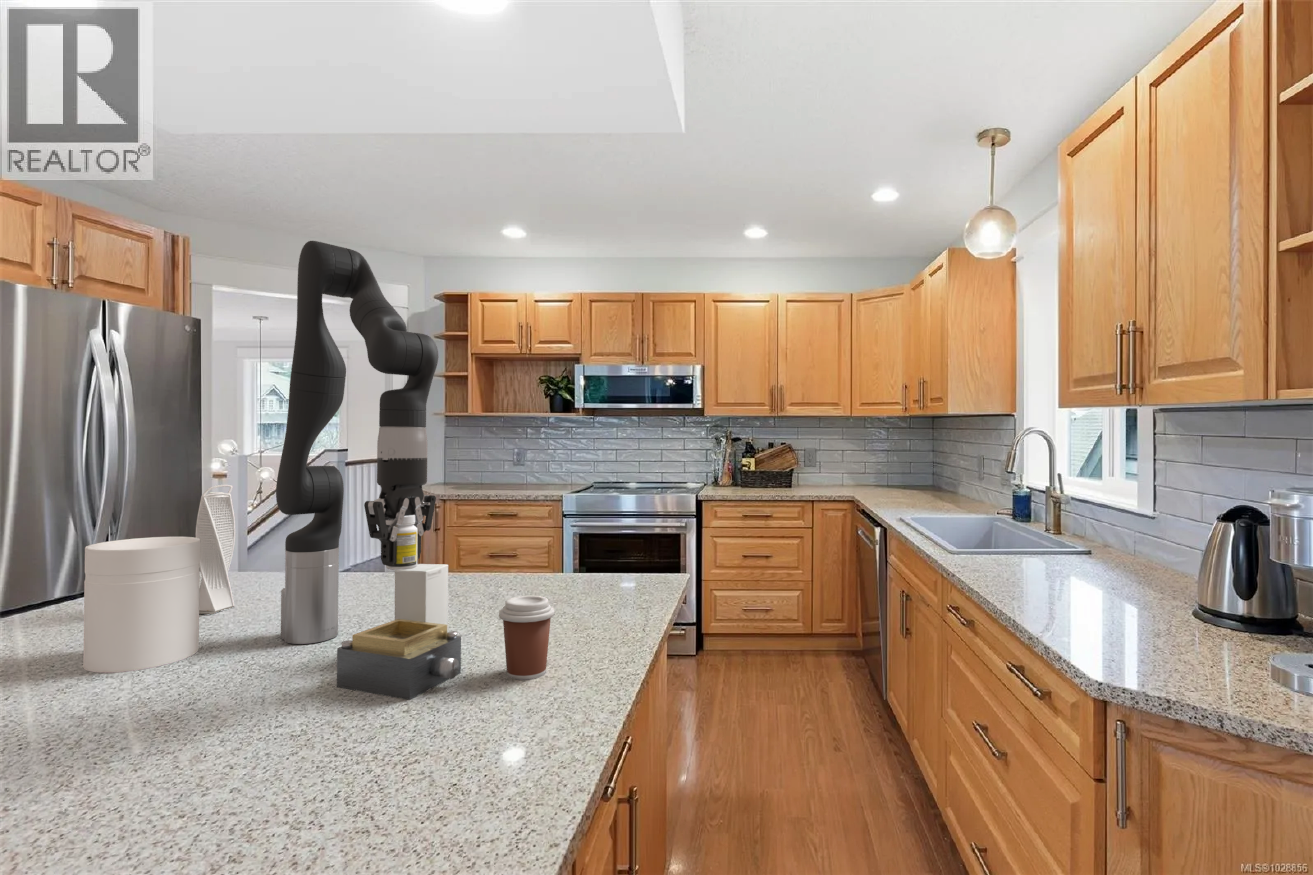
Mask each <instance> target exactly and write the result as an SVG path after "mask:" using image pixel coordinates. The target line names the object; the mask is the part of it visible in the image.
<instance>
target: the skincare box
mask: <svg viewBox="0 0 1313 875" xmlns="http://www.w3.org/2000/svg"><path fill="white" fill-rule="evenodd" d="M396 619H404V620H412V621H420V622H429V623H437V624H445V625H447V633H448V632H449V564H445V563H443V564H441V563H440V564H437V563H436V564H435V563H417V566H416V567H415V568H412V569H406V570H394V620H396Z"/></svg>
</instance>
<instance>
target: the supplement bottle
mask: <svg viewBox="0 0 1313 875" xmlns="http://www.w3.org/2000/svg"><path fill="white" fill-rule="evenodd" d="M389 520H391V521H393V520H395V519H390V518H389ZM414 524H415V515H408V516H404V519H403V523H402V526H401V527H399V529H398V533H397V537H396V540H395V541H397V562H396V564H395V565H392V566H390V565H385V566H386V567H385V568H386V569H387V570H389V571H390V570H391V571H395V570H406V569H412V568H415V567H416V566H417V564H418V559H417V536H418V530H417V527H416V526H415V525H414ZM390 529H391V526H390V527H389V528H388V532H389V533H390Z"/></svg>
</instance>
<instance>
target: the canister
mask: <svg viewBox="0 0 1313 875" xmlns="http://www.w3.org/2000/svg"><path fill="white" fill-rule="evenodd" d="M199 563H200V539H199V538H196V537H194V536H193V537H192V536H153V537H152V536H151V537H139V538H138V537H137V538H130V539H129V538H126V539H118V540H108V541H102V542H98V543H92V544H89V545H85V547H84V574H85V579H84V582H83V583H84V584H83V585H84V588H83V590H84V594H83V597H84V598H83V603H84V604H83V650H82V652H83V657H82V658H83V661H82V665H83V666H82V668H83V669H84V670H86V671H87V672H92V673H93V672H94V673H101V674H102V673H105V674H106V673H109V674H110V673H113V674H115V673H123V672H124V673H125V672H132V671H133V672H134V671H140V670H145V669H153V668H157V667H160V666H161V667H162V666H166V665H170V664H174V663H176V662H179V661H182V660H185V659H188V658H190V657H192V656H194V655H195V654H196V653H197V652H198V651H199V650H200V647H199V643H200V639H199V638H200V615H199V588H200V583H201V580H200V577H201V572H200V568H199Z"/></svg>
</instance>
